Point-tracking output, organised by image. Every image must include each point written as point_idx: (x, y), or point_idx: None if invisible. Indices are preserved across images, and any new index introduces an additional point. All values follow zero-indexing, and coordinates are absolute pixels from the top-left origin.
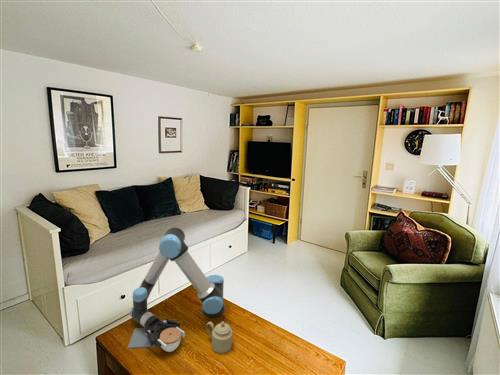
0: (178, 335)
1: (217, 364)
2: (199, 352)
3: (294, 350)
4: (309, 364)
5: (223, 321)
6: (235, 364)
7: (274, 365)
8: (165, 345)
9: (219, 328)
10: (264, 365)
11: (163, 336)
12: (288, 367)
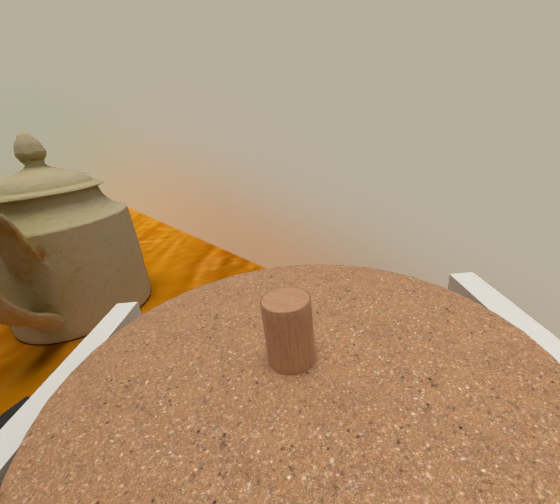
0: (223, 286)
1: (214, 267)
2: None
3: None
4: None
5: (22, 135)
6: (181, 249)
7: (140, 224)
8: (469, 276)
9: (64, 172)
10: (150, 228)
11: (484, 402)
12: (136, 217)
